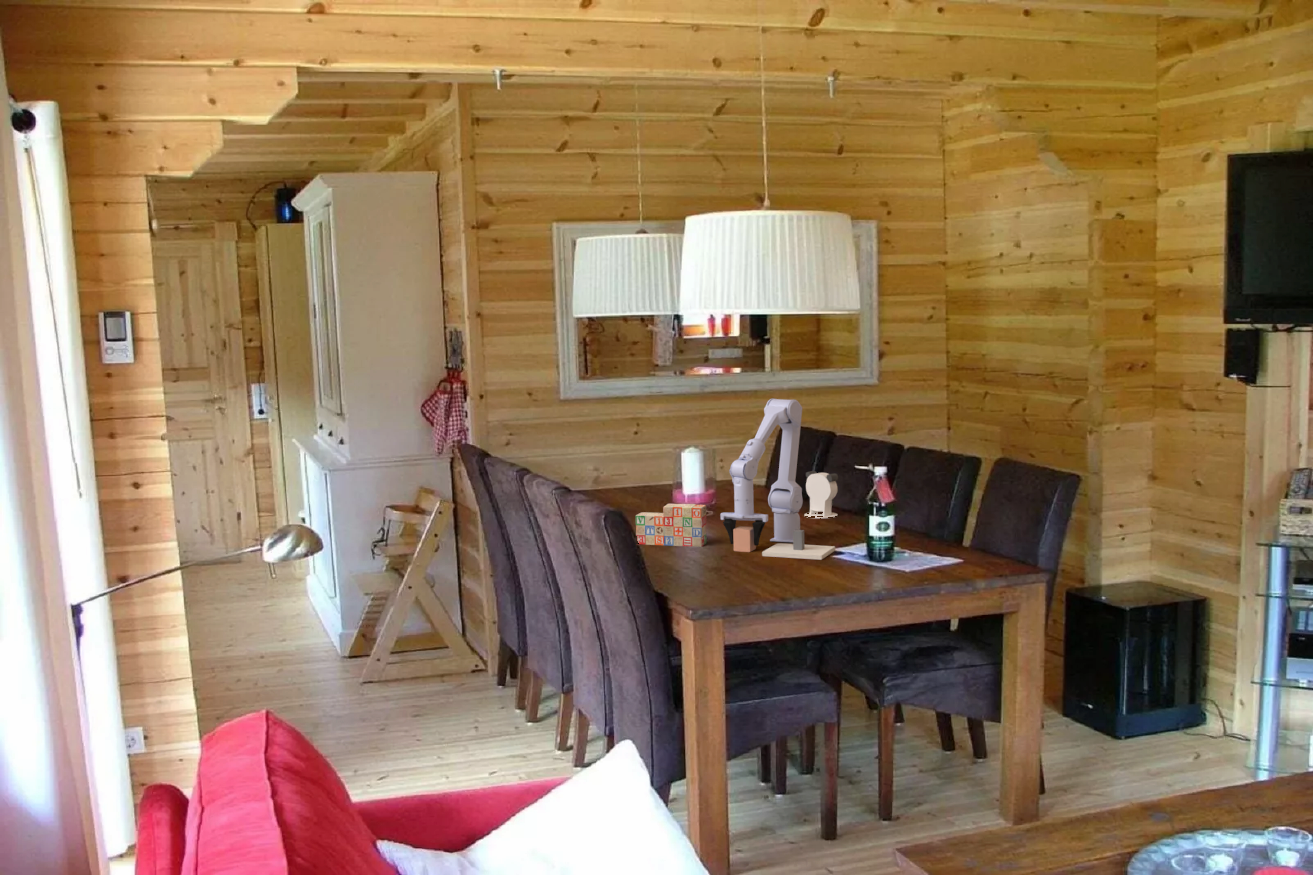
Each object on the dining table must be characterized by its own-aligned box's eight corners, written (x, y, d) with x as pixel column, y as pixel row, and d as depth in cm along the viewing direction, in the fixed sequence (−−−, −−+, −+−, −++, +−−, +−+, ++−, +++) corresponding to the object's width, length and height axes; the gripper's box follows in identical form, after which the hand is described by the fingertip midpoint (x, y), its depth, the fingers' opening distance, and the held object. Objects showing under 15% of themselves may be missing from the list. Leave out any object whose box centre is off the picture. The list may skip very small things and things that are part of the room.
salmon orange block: (739, 547, 383) (739, 526, 382) (755, 548, 381) (755, 527, 380) (733, 551, 378) (733, 529, 377) (750, 552, 376) (749, 530, 375)
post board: (777, 546, 383) (777, 525, 382) (835, 550, 375) (834, 528, 374) (762, 556, 370) (761, 533, 369) (821, 559, 362) (821, 536, 362)
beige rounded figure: (845, 515, 434) (845, 472, 432) (824, 519, 426) (823, 476, 425) (819, 511, 443) (818, 469, 441) (797, 516, 435) (797, 472, 433)
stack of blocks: (635, 544, 392) (634, 505, 391) (641, 541, 398) (640, 502, 397) (702, 547, 386) (701, 507, 385) (707, 543, 392) (706, 504, 391)
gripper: (716, 500, 377) (717, 545, 379) (762, 502, 371) (763, 548, 373) (724, 497, 384) (725, 541, 385) (770, 499, 378) (770, 543, 379)
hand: (744, 544), depth 379 cm, fingers open, 7 cm apart
